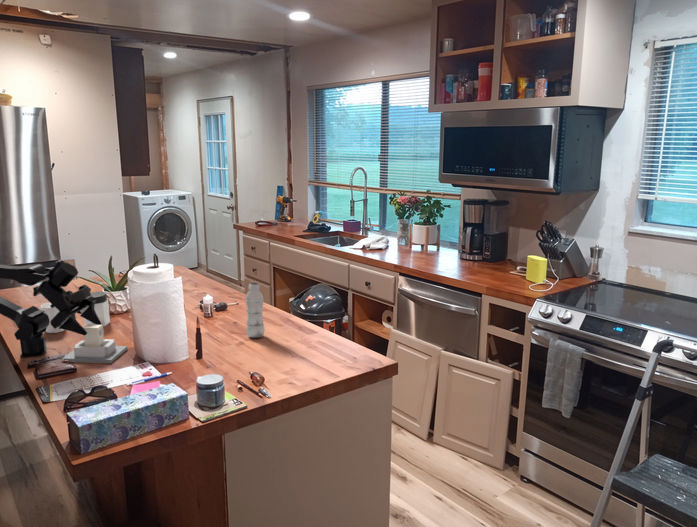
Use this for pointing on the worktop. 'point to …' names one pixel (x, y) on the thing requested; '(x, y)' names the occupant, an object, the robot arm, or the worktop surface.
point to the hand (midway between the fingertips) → (93, 329)
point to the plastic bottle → (254, 311)
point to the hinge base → (95, 359)
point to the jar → (100, 308)
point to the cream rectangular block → (94, 335)
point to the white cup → (50, 317)
